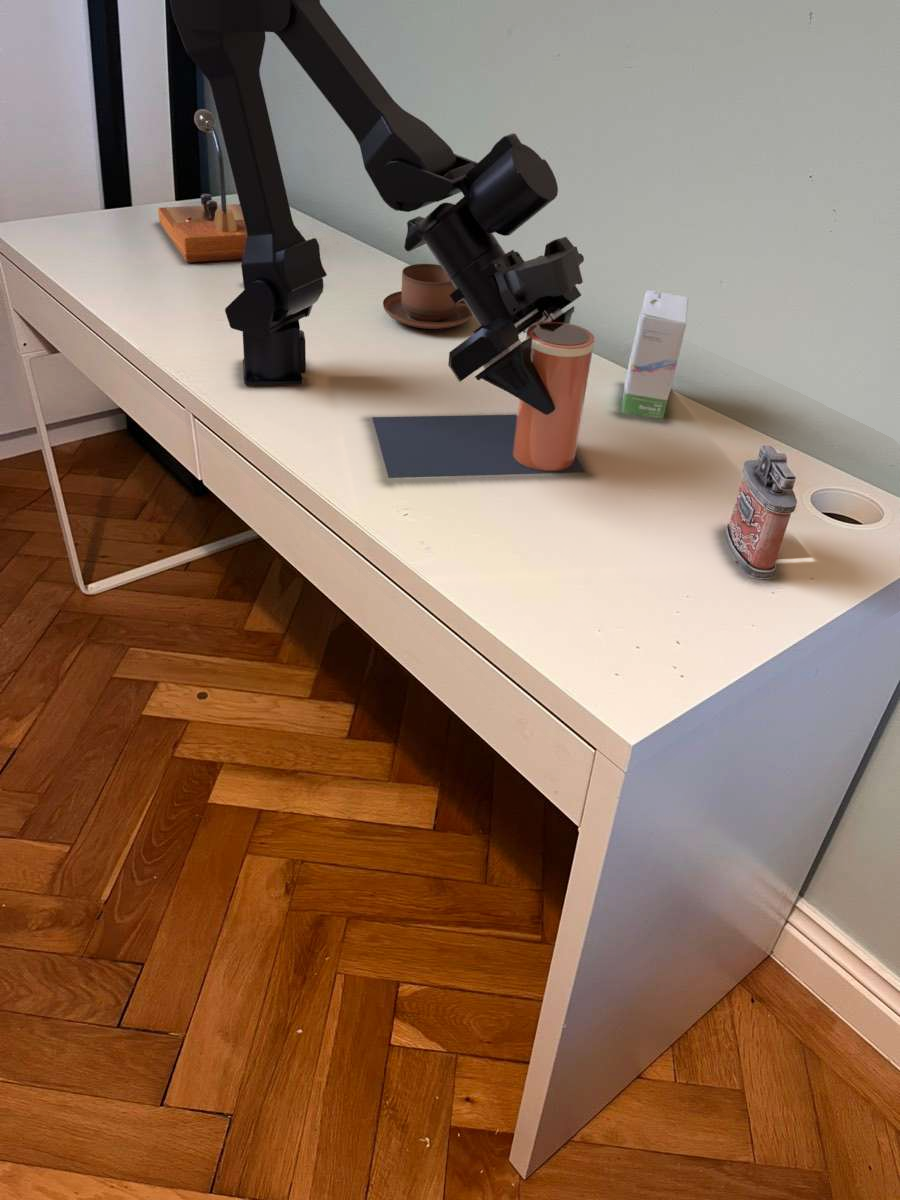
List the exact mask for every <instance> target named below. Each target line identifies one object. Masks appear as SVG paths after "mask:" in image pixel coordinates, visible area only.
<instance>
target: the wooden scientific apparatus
mask: <svg viewBox="0 0 900 1200" xmlns="http://www.w3.org/2000/svg"><path fill="white" fill-rule="evenodd" d="M193 121H194V124H195V125H196V127H197V128H198V129H199V130H200V131H202V132H203V133H211V135H212V139H213V142H214V147H215V150H216V154H217V159H218V160H217V161H218V173H219V189H220V203H221V204H218V202H217V201H216V200H213V197H212V195H211V194H209V193H202V194H201V195H200V205H186V206H167V207H164V206H163V207H158V208H157V209H158V210H157V213H158V221H159V224H160V226H161V227H162V229H163V230H164V231H165V233H166V234H167V237H169V239H170V240H171V242H172V243H173V245H174V247H175V248H176V249H177V251H178V252H179V253H180V255H181V256H182V258H183V259H184V262H186V263H189V264H190V263H203V262H204V263H205V262H218V261H234V260H235V261H236V260H242V258H243V253H244V248H245V243H246V238H247V231H246V226H245V222H244V218H243V214H242V210H241V206H240V203H239V204H238V203H237V204H236V203H234V204H232V203H231V204H227V194H226V178H225V177H226V175H225V164H224V155H223V150H222V146H221V142H220V139H219V136H218V132H217V129H216V124H217V121H216V118H215V116H214V115H213V113H212V112H211V111H210V110H207V109H204V108H200V109H198V110H196V111H195V113H194V115H193Z"/></svg>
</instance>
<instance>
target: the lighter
mask: <svg viewBox="0 0 900 1200" xmlns="http://www.w3.org/2000/svg"><path fill="white" fill-rule="evenodd" d="M785 453H786V452H778V451H777V449H776V448H775V447H774V446H773V445H770V444H761V445H760V447H759V450H758V453H757V457H758V458H757V459H749V460H746V461H744V463H743V466H742V471H741V474H742V477H741V481H740V485H739V488H738V492H737V495H736V499H735V502H734V506H733V509H732V513H731V517H730V519H729V523H727V524H726V526H725V530H724V533H725V538H726V542H727V544H728V547H729V549H730V552H731V553H732V554H733V556H734V557H735V559H736V560H735V563H736V564H737V565H738V566H739V567H740V569H741V570H742V571H743V573H745V574H746V575H747V576H748V577H751V578H753V579H756V580H769V579H771V578H773V577H774V574H775V572H776V568H777V564H776V561H777V558H778V555H779V552H780V549H781V546H782V543H783V539H784V537H785V533H786V531H787V528H788V525H789V521H790V518H791V515H792V514H793V513H794V512H795V511H796V507H797V505H798V500H797V496H796V493H795V491H794V486H795V483H796V480H797V477H796V476H795V473H794V472H793V470H792V469H791V468H790V467H789V466H788V462H787V461H788V457H787V454H785Z"/></svg>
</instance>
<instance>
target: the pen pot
mask: <svg viewBox="0 0 900 1200" xmlns="http://www.w3.org/2000/svg"><path fill="white" fill-rule="evenodd" d="M530 337H532V347H531V361H532V363H533V365H534V367H535V369H536V370H537V372H538V374H539V376H540V378H541V380H542V382H543V384H544V385H545V387H546V389H547V391H548V393H549V395H550V397H551V399H552V401H553V404H554V406H555V410H554V411H553V412H552V413H550V414H548V415H545V414H544V413H542V412H540V411H539V410H537V409H535V408H534V407H532V406H530V405H529V404H527V403H525V402H524V401H522V400H520V399H519V398H518V404H517V413H516V415H517V420H516V428H515V436H514V443H513V451H512V453H513V457H514V458H515V459H516V461H518V462H519V463H520V464H522V465H524V466H526V467H529V468H532V469H536V470H542V471H558V470H563V469H566V468H568V467H570V466H571V465H572V464H573V462H574V459H575V455H576V453H577V447H578V441H579V435H580V428H581V423H582V417H583V413H584V412H583V410H584V405H585V399H586V393H587V387H588V382H589V376H590V371H591V370H590V369H591V363H592V358H593V353H594V352H593V351H594V348H595V343H596V338H595V335H594V334H593V333H592V332H591V331H590V330H588V329H586V328H584V327H582V326H579V325H576V324H572V323H569V324H568V323H561V322H544V323H538V324H535V325H533V326H531V327H530V328H529V329H528V331H527V334H526V337H525V340H527V339H529V338H530Z"/></svg>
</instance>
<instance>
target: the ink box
mask: <svg viewBox="0 0 900 1200" xmlns="http://www.w3.org/2000/svg"><path fill="white" fill-rule="evenodd" d="M688 309H689V297H688V296H683V295H677V294H671V293H667V292H662V291H661V292H660V291H657V290H656V291H655V290H647V291H645V294H644V298H643V302H642V305H641V310H640V313H639V316H638V322H637V326H636V330H635V334H634V339H633V343H632V347H631V352H630V356H629V360H628V366H627V370H626V375H625V380H624V388H623V396H622V397H623V398H622V404H621V413H622V414H627V415H632V416H633V415H634V416H641V417H646V418H647V417H648V418H655V419H664V417H665V412H666V408H667V403H668V400H669V397H670V393H671V388H672V384H673V380H674V377H675V372H676V368H677V364H678V360H679V356H680V354H681V353H680V352H681V348H682V344H683V341H684V335H685V332H686V327H687V321H688V311H689V310H688Z"/></svg>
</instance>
